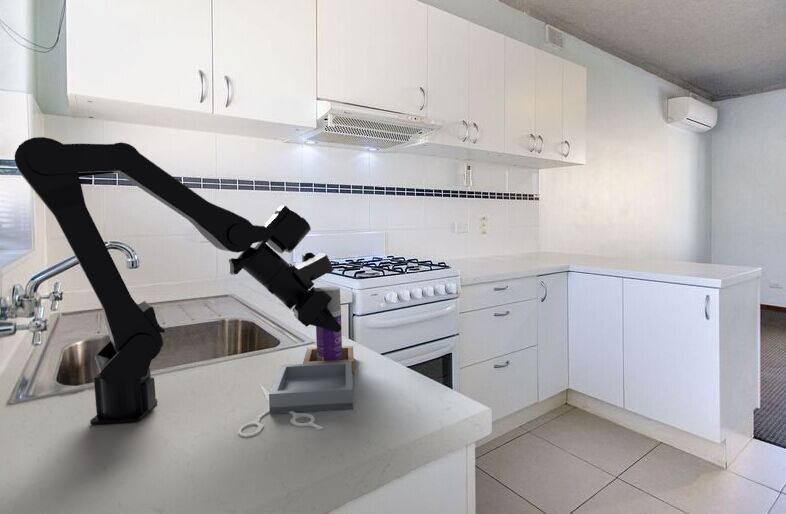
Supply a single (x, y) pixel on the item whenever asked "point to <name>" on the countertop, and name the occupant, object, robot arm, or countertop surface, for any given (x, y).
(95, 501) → the countertop surface
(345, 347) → the holder
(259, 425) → the scissors
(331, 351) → the container
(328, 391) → the tray
